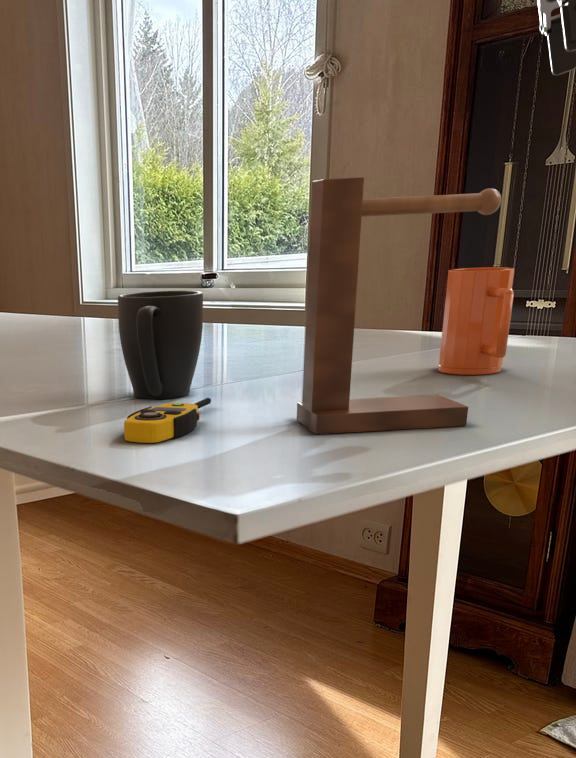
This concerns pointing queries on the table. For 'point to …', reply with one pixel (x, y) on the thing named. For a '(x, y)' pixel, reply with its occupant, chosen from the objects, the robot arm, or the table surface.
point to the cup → (476, 320)
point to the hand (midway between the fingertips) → (572, 60)
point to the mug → (161, 340)
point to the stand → (337, 312)
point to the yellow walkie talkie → (163, 422)
